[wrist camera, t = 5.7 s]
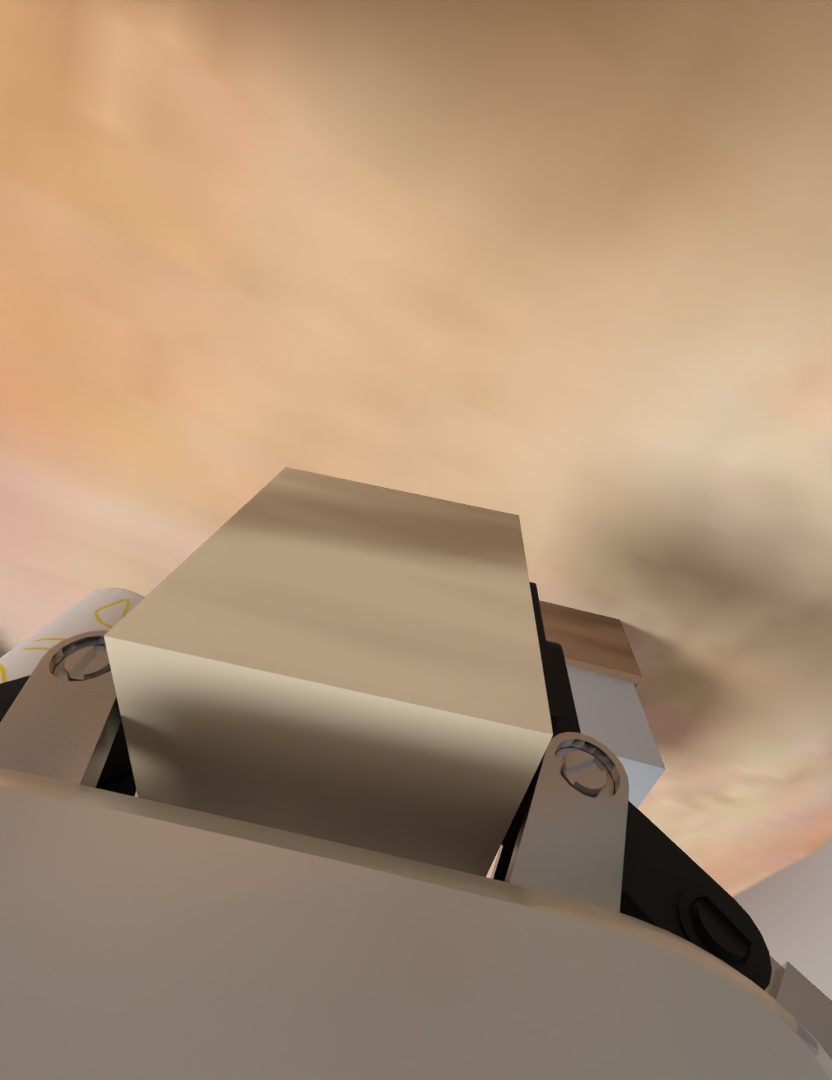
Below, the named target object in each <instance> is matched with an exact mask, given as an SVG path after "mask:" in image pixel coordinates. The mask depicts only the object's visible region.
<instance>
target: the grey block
mask: <svg viewBox="0 0 832 1080" xmlns="http://www.w3.org/2000/svg"><path fill="white" fill-rule="evenodd" d="M566 667H567V672H568V676H569V681H570V685H571V690H572V694H573V699H574V703H575V708H576V713H577V717H578V722H579V726H580V731H581V733H582V734H585V735H587V736H590V737H593V738H594V739H596V740H598V741H599V742H601V743H603V744H604V745H605V746H606V747H608V748H609V749H610V750H611V751H612V752H613V753H614V754H615V755H616V756H617V758H618V759H619V760H620V762H621V763H622V764H623V766H624V769H625V771H626V773H627V776H628V781H629V798H628V800H629V801H630V802H631V803H632V804H633V805H634V806H635V807H636V808H638V807H639V805H640V804H641V802H642V801H643V800H644V798H645V797H646V795H647V794H648V793H649V791H650V790H651V788H652V787H653V786H654V784H655V783H656V781H657V780H658V779H659V777H660V776H661V774H662V773H663V772H664V770H665V767H664V764H663V762H662V759H661V756H660V754H659V751H658V748H657V745H656V743H655V740H654V737H653V735H652V732H651V729H650V727H649V724H648V721H647V718H646V716H645V713H644V710H643V708H642V705H641V702H640V700H639V697H638V694H637V691H636V689H635V686H634V683H632V682H629V681H625V680H621V679H617V678H613V677H609V676H606V675H602V674H598V673H594V672H590V671H586V670H583V669H579V668H575V667H571V666H567V665H566Z"/></svg>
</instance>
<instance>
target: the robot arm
mask: <svg viewBox="0 0 832 1080" xmlns="http://www.w3.org/2000/svg"><path fill="white" fill-rule="evenodd" d="M529 584H530V590H531V596H532V603H533V609H534V616H535V622H536V628H537V635H538V641H539V648H540V654H541V660H542V667H543V673H544V680H545V686H546V692H547V699H548V705H549V712H550V718H551V724H552V731H553V736H552V738H551V740H550V742H549V744H548V747H547V749H546V751H545V753H544V755H543V757H542V759H541V761H540V763H539V766H538V768H537V770H536V772H535V774H534V776H533V778H532V780H531V782H530V784H529V787H528V789H527V791H526V793H525V795H524V797H523V799H522V801H521V803H520V805H519V808H518V810H517V812H516V814H515V816H514V818H513V820H512V822H511V824H510V827H509V829H508V831H507V833H506V835H505V837H504V839H503V841H502V843H501V846H500V849H499V853H498V856H497V859H496V862H495V865H494V869H493V872H492V875H491V878H487V877H482V876H478V875H474V874H470V873H465V872H461V871H457V870H452V869H448V868H444V867H440V866H435V865H431V864H427V863H423V862H418V861H414V860H410V859H405V858H401V857H397V856H393V855H388V854H384V853H380V852H376V851H371V850H367V849H363V848H358V847H354V846H350V845H345V844H341V843H337V842H332V841H328V840H324V839H319V838H315V837H310V836H306V835H302V834H297V833H293V832H289V831H284V830H280V829H276V828H271V827H267V826H262V825H258V824H254V823H249V822H245V821H240V820H236V819H232V818H227V817H223V816H218V815H214V814H210V813H205V812H201V811H196V810H192V809H188V808H183V807H179V806H174V805H170V804H165V803H161V802H156V801H152V800H147V799H143V798H138V794H137V790H136V785H135V780H134V776H133V771H132V766H131V761H130V757H129V752H128V747H127V743H126V738H125V733H124V729H123V724H122V719H121V714H120V710H119V705H118V700H117V696H116V691H115V686H114V682H113V677H112V672H111V667H110V663H109V658H108V653H107V649H106V644H105V639H104V635H105V634H106V633H107V632H108V631H106V630H100V631H90V632H85V633H82V634H78V635H74V636H72V637H70V638H68V639H65V640H63V641H61V642H59V643H58V644H57V645H55V646H54V647H52V648H51V649H49V651H48V652H47V653H46V654H45V655H44V656H43V657H42V658H41V660H40V662H39V663H38V665H37V666H36V668H35V669H34V671H33V672H32V674H31V675H29V676H25V677H22V678H18V679H15V680H11V681H8V682H4V683H1V684H0V1080H832V1001H831V1000H830V999H829V998H828V997H827V996H825V995H824V994H823V993H822V992H821V991H820V990H819V989H818V988H817V987H816V986H815V985H813V984H812V983H811V982H810V981H809V980H808V979H807V978H805V977H804V976H803V975H802V974H801V973H800V972H799V971H797V970H796V968H794V967H793V966H792V965H791V964H790V963H789V962H786V963H785V964H784V965H782V966H781V965H780V964H779V963H777V962H776V961H775V960H774V959H773V958H772V957H771V956H770V955H769V951H768V949H767V946H766V944H765V942H764V939H763V937H762V935H761V933H760V931H759V930H758V928H757V927H756V925H755V924H754V922H753V920H752V919H751V917H750V916H749V915H748V914H747V913H746V911H745V910H744V909H743V908H742V907H741V906H740V905H739V904H738V903H737V902H736V901H735V899H734V898H732V897H731V896H730V895H729V894H728V893H727V892H726V891H725V890H724V889H723V888H722V887H721V886H720V885H719V884H718V883H716V882H715V881H714V880H713V879H712V878H711V877H710V876H709V875H708V874H707V873H706V872H705V871H704V870H703V869H701V868H700V867H699V866H698V865H697V864H696V863H695V862H694V861H693V860H692V859H691V858H690V857H689V856H688V855H686V854H685V853H684V852H683V851H682V850H681V849H680V848H679V847H678V846H677V845H676V844H675V843H674V842H673V841H671V840H670V839H669V838H668V837H667V836H666V835H665V834H664V833H663V832H662V831H661V830H660V829H659V828H658V827H657V826H655V825H654V824H653V823H652V822H651V821H650V820H649V819H648V818H647V817H646V816H645V815H644V814H643V813H642V812H640V811H639V810H638V809H637V808H636V807H635V806H634V805H633V804H632V803H631V802H630V801H629V800H628V798H629V781H628V776H627V773H626V771H625V769H624V766H623V764H622V763H621V762H620V760H619V759H618V758H617V756H616V755H615V754H614V753H613V752H612V751H611V750H610V749H609V748H608V747H606V746H605V745H604V744H603V743H601V742H599V741H598V740H596V739H594V738H593V737H590V736H587V735H585V734H582V733H581V731H580V726H579V722H578V717H577V713H576V708H575V703H574V699H573V694H572V690H571V685H570V681H569V676H568V672H567V667H566V662H565V658H564V653H563V649H562V646H561V645H560V644H559V643H556V642H551V641H546V637H545V631H544V626H543V620H542V615H541V609H540V603H539V598H538V592H537V587H536V584H535V583H532V582H529Z"/></svg>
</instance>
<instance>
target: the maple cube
mask: <svg viewBox="0 0 832 1080" xmlns="http://www.w3.org/2000/svg"><path fill="white" fill-rule="evenodd" d="M104 639H105V644H106V649H107V653H108V658H109V663H110V667H111V672H112V677H113V682H114V686H115V691H116V696H117V700H118V705H119V710H120V714H121V719H122V724H123V729H124V733H125V738H126V743H127V747H128V752H129V757H130V761H131V766H132V771H133V776H134V780H135V785H136V790H137V794H138V798H143V799H147V800H152V801H156V802H161V803H165V804H170V805H174V806H179V807H183V808H188V809H192V810H196V811H201V812H205V813H210V814H214V815H218V816H223V817H227V818H232V819H236V820H240V821H245V822H249V823H254V824H258V825H262V826H267V827H271V828H276V829H280V830H284V831H289V832H293V833H297V834H302V835H306V836H310V837H315V838H319V839H324V840H328V841H332V842H337V843H341V844H345V845H350V846H354V847H358V848H363V849H367V850H371V851H376V852H380V853H384V854H388V855H393V856H397V857H401V858H405V859H410V860H414V861H418V862H423V863H427V864H431V865H435V866H440V867H444V868H448V869H452V870H457V871H461V872H465V873H470V874H474V875H478V876H482V877H486V875H487V873H488V871H489V869H490V867H491V864H492V862H493V860H494V858H495V856H496V854H497V852H498V850H499V848H500V845H501V843H502V841H503V839H504V837H505V835H506V833H507V831H508V829H509V827H510V824H511V822H512V820H513V818H514V816H515V814H516V812H517V810H518V808H519V805H520V803H521V801H522V799H523V797H524V795H525V793H526V791H527V789H528V787H529V784H530V782H531V780H532V778H533V776H534V774H535V772H536V770H537V768H538V766H539V763H540V761H541V759H542V757H543V755H544V753H545V751H546V749H547V747H548V744H549V742H550V740H551V738H552V736H553V731H552V724H551V718H550V712H549V705H548V699H547V692H546V686H545V680H544V673H543V667H542V660H541V654H540V648H539V641H538V635H537V628H536V622H535V616H534V609H533V603H532V596H531V590H530V584H529V577H528V571H527V565H526V558H525V552H524V545H523V539H522V533H521V526H520V520H519V515H514V514H509V513H504V512H499V511H495V510H490V509H485V508H480V507H475V506H470V505H466V504H461V503H456V502H451V501H446V500H442V499H437V498H432V497H427V496H422V495H417V494H413V493H408V492H403V491H398V490H393V489H389V488H384V487H379V486H374V485H369V484H364V483H360V482H355V481H350V480H345V479H340V478H336V477H331V476H326V475H321V474H316V473H311V472H307V471H302V470H297V469H292V468H287V467H286V468H285V469H283V470H282V471H281V472H280V473H279V474H278V475H277V476H276V477H275V478H274V479H273V480H272V481H270V482H269V483H268V484H267V485H266V486H265V487H264V488H263V489H262V490H261V491H260V492H259V493H258V494H256V495H255V496H254V497H253V498H252V499H251V500H250V501H249V502H248V503H247V504H246V505H245V506H243V507H242V508H241V509H240V510H239V511H238V512H237V513H236V514H235V515H234V516H233V517H232V518H230V519H229V520H228V521H227V522H226V523H225V524H224V525H223V526H222V527H221V528H220V529H219V530H218V531H216V532H215V533H214V534H213V535H212V536H211V537H210V538H209V539H208V540H207V541H206V542H205V543H203V544H202V545H201V546H200V547H199V548H198V549H197V550H196V551H195V552H194V553H193V554H192V555H191V556H189V557H188V558H187V559H186V560H185V561H184V562H183V563H182V564H181V565H180V566H179V567H178V568H176V569H175V570H174V571H173V572H172V573H171V574H170V575H169V576H168V577H167V578H166V579H165V580H163V581H162V582H161V583H160V584H159V585H158V586H157V587H156V588H155V589H154V590H153V591H152V592H151V593H149V594H148V595H147V596H146V597H145V598H144V599H143V600H142V601H141V602H140V603H139V604H138V605H136V606H135V607H134V608H133V609H132V610H131V611H130V612H129V613H128V614H127V615H126V616H125V617H124V618H122V619H121V620H120V621H119V622H118V623H117V624H116V625H115V626H114V627H113V628H112V629H111V630H109V631H108V632H107V633H106V634H105V635H104Z"/></svg>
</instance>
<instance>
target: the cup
mask: <svg viewBox="0 0 832 1080" xmlns="http://www.w3.org/2000/svg"><path fill="white" fill-rule="evenodd" d="M143 599H144V597H143V596H140V595H138V594H136V593H133V592H130V591H127V590H123V589H116V588H105V589H100V590H96V591H94V592H92V593H90V594H89V595H87V596H86V597H84V598H83V599H82V600H80V601H79V602H77V603H76V604H75V605H73V606H72V607H70V608H69V609H68V610H66V611H65V612H64V613H62V614H61V615H59V616H58V617H57V618H55V619H54V620H52V621H51V622H50V623H48V624H47V625H45V626H44V627H43V628H41V629H40V630H38V631H37V632H36V633H34V634H33V635H31V636H30V637H29V638H27V639H26V640H24V641H23V642H22V643H20V644H19V645H17V646H16V647H15V648H13V649H12V650H10V651H9V652H8V653H6V654H5V655H3V656H2V657H1V658H0V684H1V683H4V682H8V681H11V680H15V679H18V678H22V677H25V676H29V675H31V674H32V672H33V671H34V669H35V668H36V666H37V665H38V663H39V662H40V660H41V658H42V657H43V656H44V655H45V654H46V653H47V652H48V651H49V649H51V648H52V647H54V646H55V645H57V644H58V643H59V642H61V641H63V640H65V639H68V638H70V637H72V636H74V635H78V634H82V633H85V632H90V631H100V630H106V631H109V630H111V629H112V628H113V627H114V626H115V625H116V624H117V623H118V622H119V621H120V620H121V619H122V618H124V617H125V616H126V615H127V614H128V613H129V612H130V611H131V610H132V609H133V608H134V607H135V606H136V605H138V604H139V603H140V602H141V601H142V600H143Z"/></svg>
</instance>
